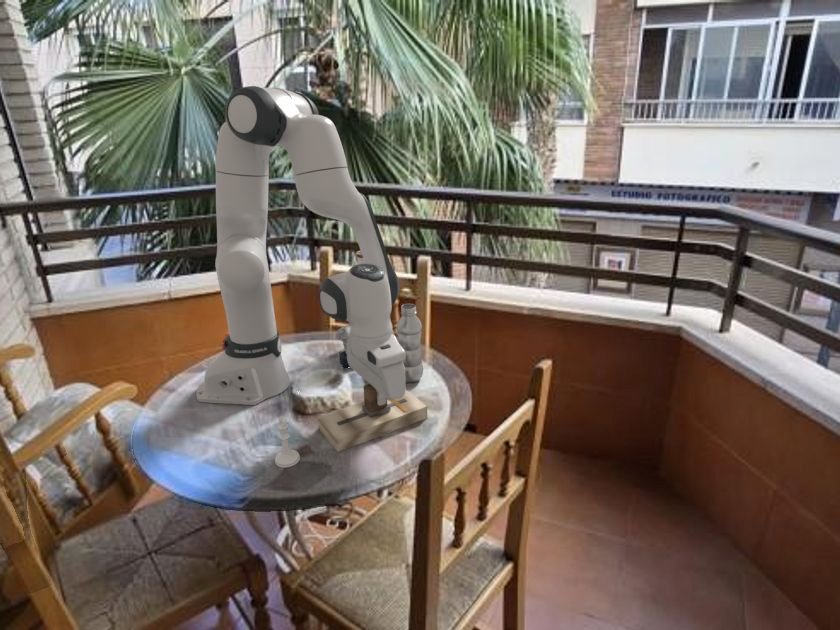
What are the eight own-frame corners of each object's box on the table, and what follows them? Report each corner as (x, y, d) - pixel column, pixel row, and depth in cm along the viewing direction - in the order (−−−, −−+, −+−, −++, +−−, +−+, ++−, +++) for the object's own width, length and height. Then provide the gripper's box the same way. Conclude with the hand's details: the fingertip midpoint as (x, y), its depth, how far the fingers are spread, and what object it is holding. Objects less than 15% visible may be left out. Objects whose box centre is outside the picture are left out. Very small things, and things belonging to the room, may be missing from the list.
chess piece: (292, 449, 111) (286, 407, 107) (304, 460, 108) (299, 417, 104) (270, 459, 108) (264, 417, 104) (282, 470, 105) (276, 427, 101)
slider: (370, 417, 116) (368, 393, 113) (362, 409, 119) (360, 385, 116) (390, 410, 118) (389, 386, 116) (381, 402, 121) (380, 379, 119)
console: (338, 452, 110) (336, 439, 109) (318, 429, 118) (317, 416, 116) (427, 417, 121) (427, 405, 120) (404, 398, 129) (403, 387, 127)
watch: (357, 356, 151) (354, 319, 146) (365, 368, 144) (362, 330, 140) (337, 359, 149) (334, 323, 145) (344, 372, 142) (341, 334, 138)
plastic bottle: (424, 373, 140) (423, 301, 133) (422, 385, 134) (420, 311, 127) (400, 372, 141) (397, 301, 134) (396, 385, 135) (393, 311, 127)
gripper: (337, 329, 119) (342, 383, 124) (382, 364, 103) (385, 425, 108) (362, 322, 122) (366, 376, 127) (410, 355, 106) (412, 415, 111)
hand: (375, 399), depth 117 cm, fingers closed on slider, 3 cm apart
